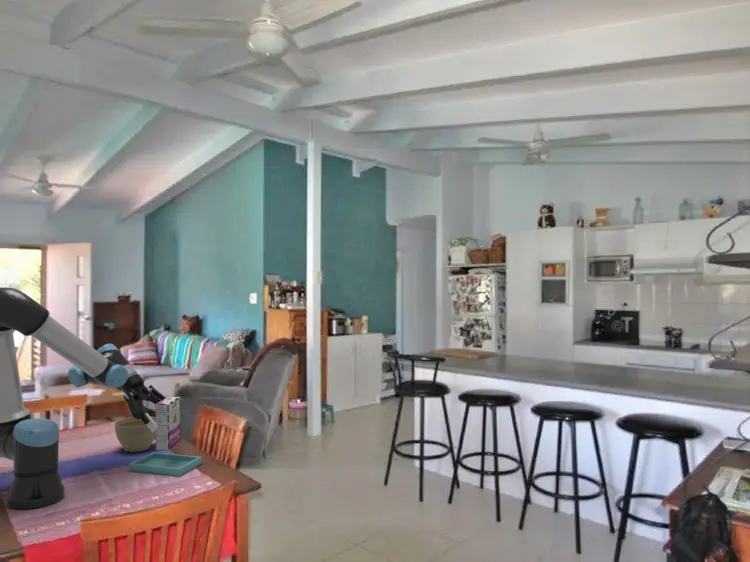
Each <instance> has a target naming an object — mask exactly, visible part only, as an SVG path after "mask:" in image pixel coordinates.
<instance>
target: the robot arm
mask: <svg viewBox="0 0 750 562" xmlns="http://www.w3.org/2000/svg"><path fill="white" fill-rule="evenodd" d="M14 332H18V333H19V334H22V335H23V336H24V337H30V336H31V337H32V338H34V339H35V340H37V341H38V342H40V343H41V344H43V345H44V346H46V347H47V348H49V349H50V350H51V351H53V352H55V354H57V355H58V356H61V357H62V358H63V359H65V360H67V361H68V362H69V363H70V364H72V365H73V367H71V368H69V369H68V372H67V375H68V376H67V377H68V380H69V382H70V383H71V385H72V386H74V387H76V388H81V387H84V386H87V385H88V384H93V385H97V386H98V385H99V386H104V387H108V388H120V389H121V390H122V391H123V393H124V395H123V399H124V400H125V401H126V404H127V406H128V408H129V410H130V413H131V415H132V417H133V418H136V417H137V418H136V419H137V420H139V419H141V420H142V421H143V422H144V424H146V425H147V427H148V428H149V429H150V430H151V431H152V433H153V432H154V431H155V430H156V429H157V428H158V426H157V424H156V423H155V422H154V421H153V420H152V418H151V417H152V416H150V414H148V413H149V412H145V408H144V402H143V401H146V402H151V403H152V404H154V405H155V404H157V403H158V402H160V401H162V400H163V399H165V398H167V397H166V396H164V395H163V394H162V393H161V392H159V390H157V389H156V388H155V387H154V386H153V385H152V384H149V386H148V387H147V386H145V384H144V382H145V381H144V379H143V378H142V376H141V375H140V374H138V371H137V370H136V369H135V368H134V367H133V365H132V364H131V363H130V362H129V361H128V360H127V358H126V357H125V356H124V355H123V354H122V352H121V351H120V350H119V349H118V347H117V346H115V344H113V343H107V344H106V343H105V344H104V345H102V346H101V347H99V348H98V349H97V350H96V349H95V348H93V347H92V346H91V345H90V344H88V343H87V342H86V341H84V340H82V339H81V337H78V336H77V335H76V334H74V332H71V331H70V330H69V329H68V328H66V326H64V325H63V324H61V323H60V322H58V321H57V320H56V319H54V318H53V317H52V316H51V313H50V311H49V310H48V309H47V308H46V307H44V306H43V305H41V304H40V303H38V302H37V301H36V300H35V299H33V298H32V297H30V296H29V295H28V294H26V293H24V292H23V291H21V290H20V289H17V288H13V287H9V286H8V287H6V286H5V287H3V286H2V287H1V286H0V458H4V459H7V460H10V461H12V462H13V478H12V481H11V484H10V487H9V490H8V493H7V494H6V495H7V496H6V501H5V502H6V507H7V508H10V509H13V510H32V508H33V509H38V508H42V507H48V506H50V505H52V504H55V503H57V502H59V501H61V500H62V499H63V498H64V497H65V492H66V491H65V486H64V484H63V482H62V477H61V475H60V472H59V447H60V446H59V444H60V443H59V442H60V441H59V438H60V432H59V425H58V423H56V421H54V420H52V419H48V418H32V413H31V410H30V409H29V408H27V407H25V405H24V397H23V392H22V385H21V379H20V372H19V366H18V365H19V364H18V358H17V351H16V344H15V338H14Z"/></svg>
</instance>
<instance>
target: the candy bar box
mask: <svg viewBox="0 0 750 562" xmlns="http://www.w3.org/2000/svg"><path fill="white" fill-rule="evenodd" d="M180 399H181V397H180V396H167V397H166V398H165V399H163V400H162V401H160V402H158V403H157V404H154V406H155V417H156V424H157V426H158V428H157V429H156V436H155V450H156V451H170V450H171V449H172V448H174V447H175V446H176V445H177V444H178V443H180V441H181V400H180Z"/></svg>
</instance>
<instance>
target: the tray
mask: <svg viewBox="0 0 750 562" xmlns="http://www.w3.org/2000/svg"><path fill="white" fill-rule="evenodd" d="M202 458H203V457H202V456H196V455H187V454H185V455H184V454H176V453H165V452H154V451H153V452H151V453H148V454H147V455H145V456H143V457H141V458H139V459H137V460H134V461H132V462H130V463H128V472H130V471H132V472H133V473H142V474H150V475H159V476H167V475H168V476H167V477H179V478H180V477H182V476H183V475H185V474H187V473H188V472H190V471H192V470H193V468H194V469H195V468H197V467H199V466H201V465H202V462H203V459H202Z"/></svg>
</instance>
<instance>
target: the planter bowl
mask: <svg viewBox="0 0 750 562" xmlns="http://www.w3.org/2000/svg"><path fill="white" fill-rule="evenodd" d="M150 417H151V418H152V420H153V421H154V422H155V423H156V416H150ZM136 418H137V417H136ZM136 418H133V416H132V417H128V418H123V419H120V420H118V421H116V422H114V428H115V435H116V438H117V440H118V442H119V444H120V445H121V447H123V450H124V451H125V452H127V451H129V452H130V453H137V452H142V451H146V450H149V449H150V448H151V444H152V443H153V441H154V440H155V439H156V430H155V431H154V432H153V433H152V431H151V430H150V429H149V428H148V427H147V425H146V424H144V422H143V421H142V420H141V419H139V420H137V419H136Z"/></svg>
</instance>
